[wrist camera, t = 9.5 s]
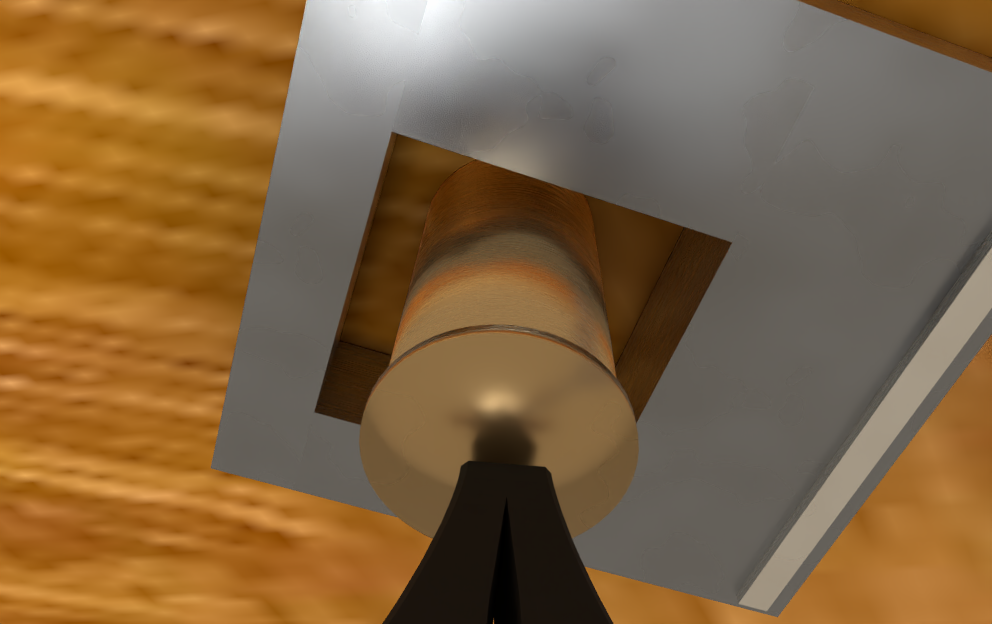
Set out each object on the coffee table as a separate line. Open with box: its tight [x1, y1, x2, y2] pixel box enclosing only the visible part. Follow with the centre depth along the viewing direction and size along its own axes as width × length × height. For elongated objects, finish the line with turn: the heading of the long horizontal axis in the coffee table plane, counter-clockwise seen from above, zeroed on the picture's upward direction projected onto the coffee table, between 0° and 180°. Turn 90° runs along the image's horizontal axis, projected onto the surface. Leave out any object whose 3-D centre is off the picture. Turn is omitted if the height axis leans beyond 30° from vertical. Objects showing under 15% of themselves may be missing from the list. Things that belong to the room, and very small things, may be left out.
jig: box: [211, 0, 992, 617], centre depth 19 cm, size 15×14×3 cm
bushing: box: [359, 160, 639, 538], centre depth 17 cm, size 4×4×8 cm
